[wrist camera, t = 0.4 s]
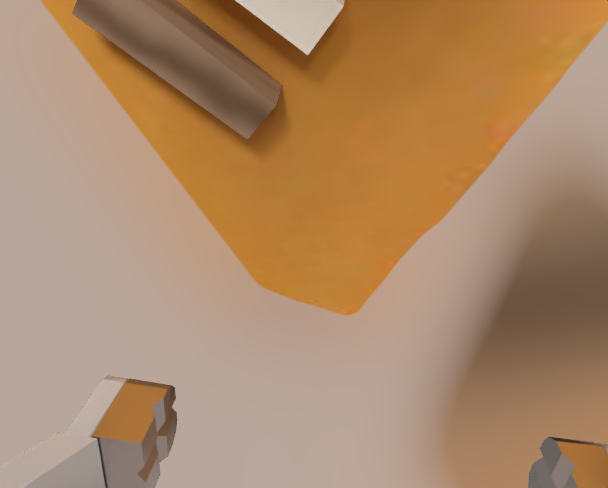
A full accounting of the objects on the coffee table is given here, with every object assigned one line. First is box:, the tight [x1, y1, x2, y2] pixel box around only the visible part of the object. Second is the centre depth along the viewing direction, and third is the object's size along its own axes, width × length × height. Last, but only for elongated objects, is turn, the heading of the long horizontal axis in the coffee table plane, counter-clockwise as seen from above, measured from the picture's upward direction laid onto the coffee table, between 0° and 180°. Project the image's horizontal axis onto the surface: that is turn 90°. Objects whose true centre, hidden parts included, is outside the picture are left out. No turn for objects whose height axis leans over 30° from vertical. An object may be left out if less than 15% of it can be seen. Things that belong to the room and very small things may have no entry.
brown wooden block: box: [72, 0, 282, 139], centre depth 52 cm, size 6×22×5 cm, turn 51°
